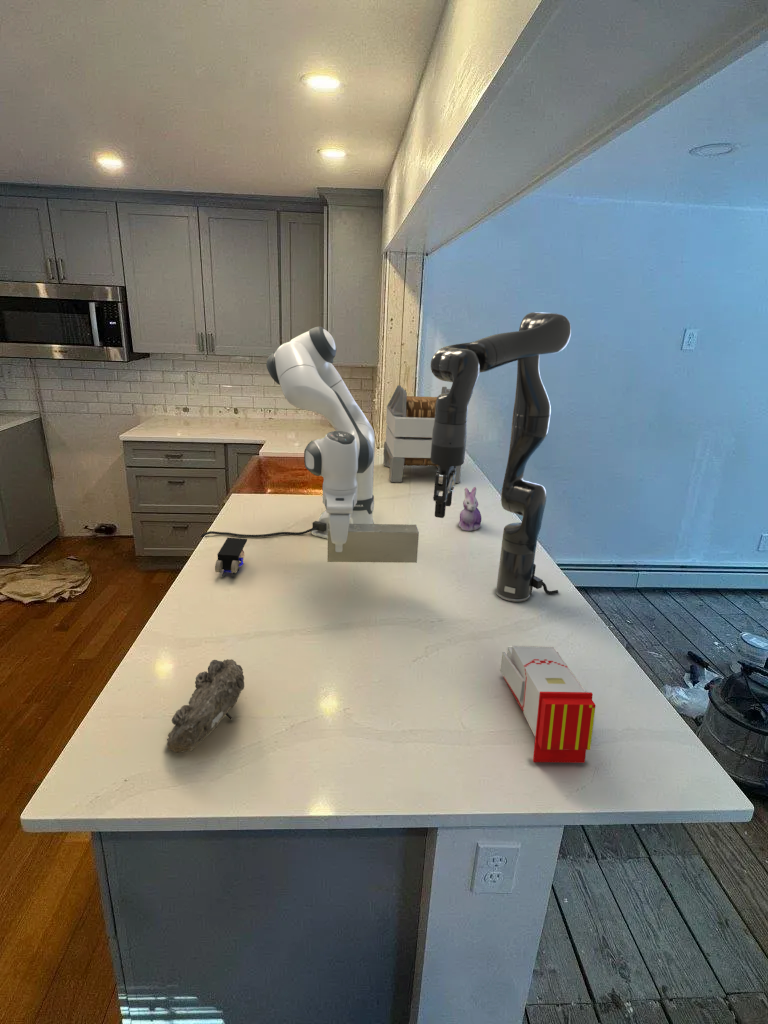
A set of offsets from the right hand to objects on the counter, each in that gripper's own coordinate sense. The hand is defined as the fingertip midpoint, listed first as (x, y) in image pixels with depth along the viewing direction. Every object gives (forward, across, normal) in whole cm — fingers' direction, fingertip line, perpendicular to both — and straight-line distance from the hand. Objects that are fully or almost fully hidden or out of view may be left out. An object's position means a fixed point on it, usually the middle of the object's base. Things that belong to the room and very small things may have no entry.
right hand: (443, 511), depth 130 cm
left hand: (+16, +7, +28) cm, 33 cm away
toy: (+31, -23, -26) cm, 47 cm away
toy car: (+31, +12, +63) cm, 71 cm away
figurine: (+31, +75, +1) cm, 81 cm away
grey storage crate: (+31, +138, +34) cm, 146 cm away
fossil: (+31, -45, +34) cm, 65 cm away
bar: (+20, +10, +20) cm, 30 cm away
